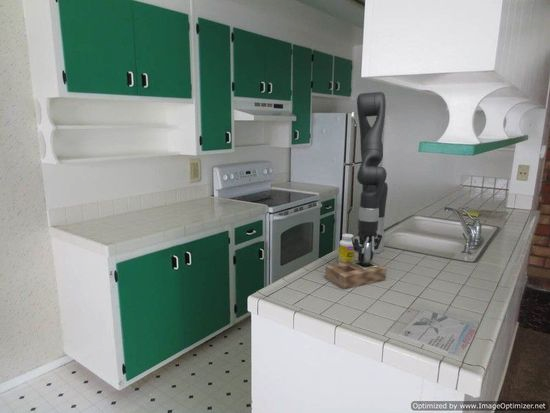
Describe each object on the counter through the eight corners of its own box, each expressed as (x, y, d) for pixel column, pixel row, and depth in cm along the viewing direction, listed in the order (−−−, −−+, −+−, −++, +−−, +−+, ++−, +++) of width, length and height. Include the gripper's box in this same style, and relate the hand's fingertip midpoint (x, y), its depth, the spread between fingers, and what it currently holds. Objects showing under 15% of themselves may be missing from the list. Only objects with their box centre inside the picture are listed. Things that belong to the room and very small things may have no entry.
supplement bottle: (346, 267, 166) (348, 238, 163) (334, 262, 171) (336, 234, 168) (357, 264, 170) (359, 235, 167) (345, 260, 175) (347, 232, 172)
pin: (365, 268, 158) (367, 239, 156) (371, 271, 155) (373, 242, 153) (358, 269, 157) (360, 240, 154) (363, 273, 154) (366, 243, 151)
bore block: (365, 269, 164) (366, 257, 163) (385, 280, 154) (386, 267, 153) (325, 277, 155) (325, 265, 154) (343, 289, 145) (344, 275, 144)
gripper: (376, 214, 158) (372, 255, 161) (347, 217, 151) (344, 260, 155) (389, 218, 151) (385, 261, 155) (360, 222, 145) (357, 266, 149)
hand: (365, 260), depth 155 cm, fingers closed on pin, 3 cm apart
